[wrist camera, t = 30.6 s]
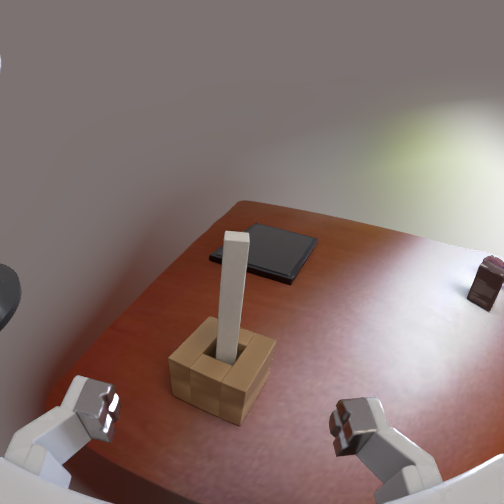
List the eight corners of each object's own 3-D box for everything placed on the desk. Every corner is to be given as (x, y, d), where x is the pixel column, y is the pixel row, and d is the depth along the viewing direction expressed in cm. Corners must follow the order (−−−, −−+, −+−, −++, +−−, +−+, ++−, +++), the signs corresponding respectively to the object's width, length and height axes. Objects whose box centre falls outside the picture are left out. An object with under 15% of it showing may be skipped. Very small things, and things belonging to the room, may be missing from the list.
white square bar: (214, 393, 25) (223, 239, 18) (215, 380, 26) (225, 230, 20) (231, 394, 25) (249, 241, 19) (232, 381, 26) (249, 232, 20)
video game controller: (479, 276, 59) (480, 254, 56) (489, 269, 59) (491, 247, 56) (502, 296, 50) (506, 272, 47) (512, 288, 50) (516, 265, 47)
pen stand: (172, 395, 24) (168, 357, 22) (208, 353, 29) (209, 315, 27) (240, 426, 22) (245, 392, 19) (268, 376, 27) (276, 339, 25)
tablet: (290, 285, 44) (292, 278, 44) (209, 260, 49) (209, 254, 48) (316, 243, 61) (318, 238, 61) (255, 227, 66) (256, 222, 65)
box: (493, 303, 44) (507, 271, 41) (489, 312, 41) (505, 278, 38) (471, 290, 49) (484, 258, 46) (465, 298, 45) (479, 264, 42)
